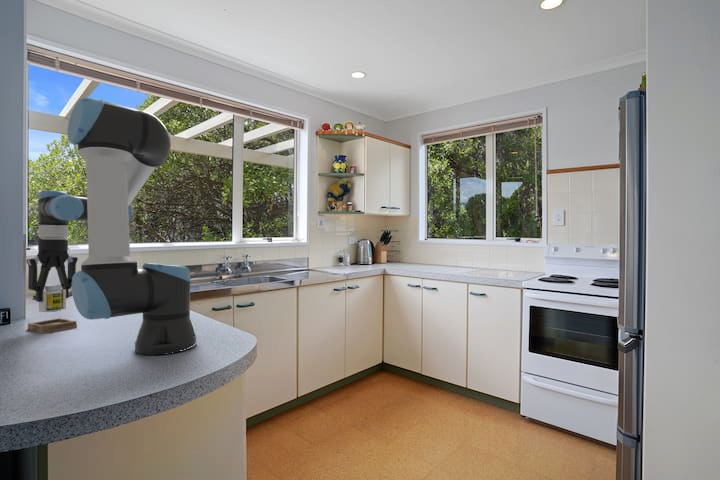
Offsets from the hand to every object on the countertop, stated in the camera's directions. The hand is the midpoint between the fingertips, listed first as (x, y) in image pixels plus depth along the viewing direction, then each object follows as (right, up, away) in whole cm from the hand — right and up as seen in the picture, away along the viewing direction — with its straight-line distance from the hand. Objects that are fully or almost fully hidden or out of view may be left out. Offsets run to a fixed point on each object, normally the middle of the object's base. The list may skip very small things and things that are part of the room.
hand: (52, 309), depth 123 cm
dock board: (0, -6, 0) cm, 6 cm away
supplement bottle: (0, -1, 0) cm, 1 cm away
